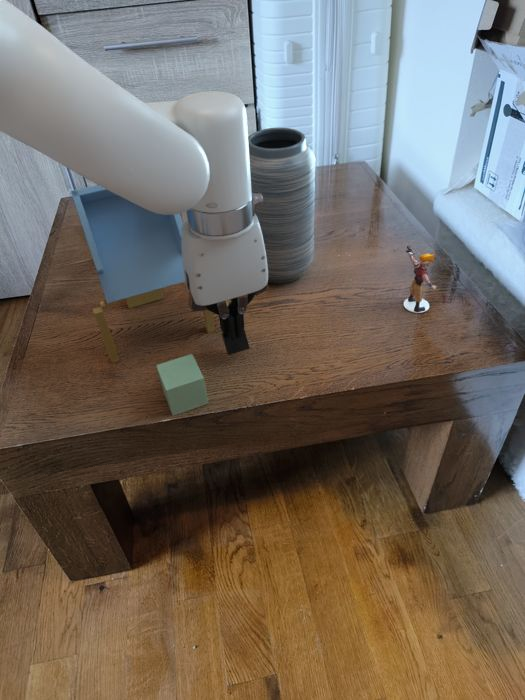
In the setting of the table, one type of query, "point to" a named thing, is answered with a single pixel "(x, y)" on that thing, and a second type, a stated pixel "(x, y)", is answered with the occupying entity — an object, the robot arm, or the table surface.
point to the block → (182, 384)
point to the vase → (284, 199)
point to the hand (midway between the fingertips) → (232, 333)
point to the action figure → (418, 283)
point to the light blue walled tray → (134, 248)
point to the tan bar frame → (135, 302)
